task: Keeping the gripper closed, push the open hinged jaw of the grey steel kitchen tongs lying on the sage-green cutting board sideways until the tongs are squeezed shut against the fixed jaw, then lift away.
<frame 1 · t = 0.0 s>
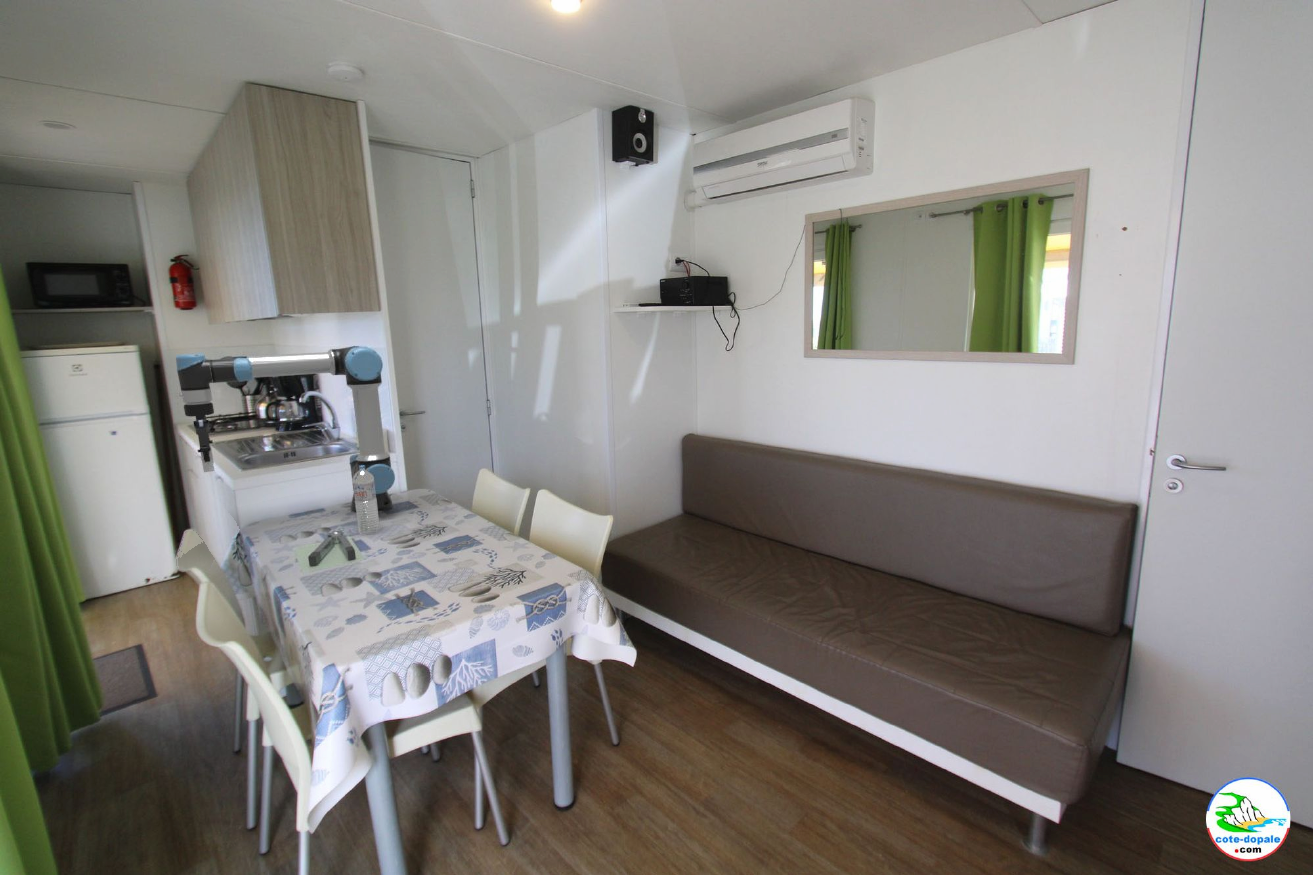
hand: (209, 467, 199), 28 cm above the table, fingers open, 13 cm apart
water bottle: (370, 535, 214), on the table
board: (328, 556, 195), on the table
tongs fixed: (337, 542, 204), resting on board
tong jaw: (322, 550, 193), point 3 cm above the table, hinge at 25.0°
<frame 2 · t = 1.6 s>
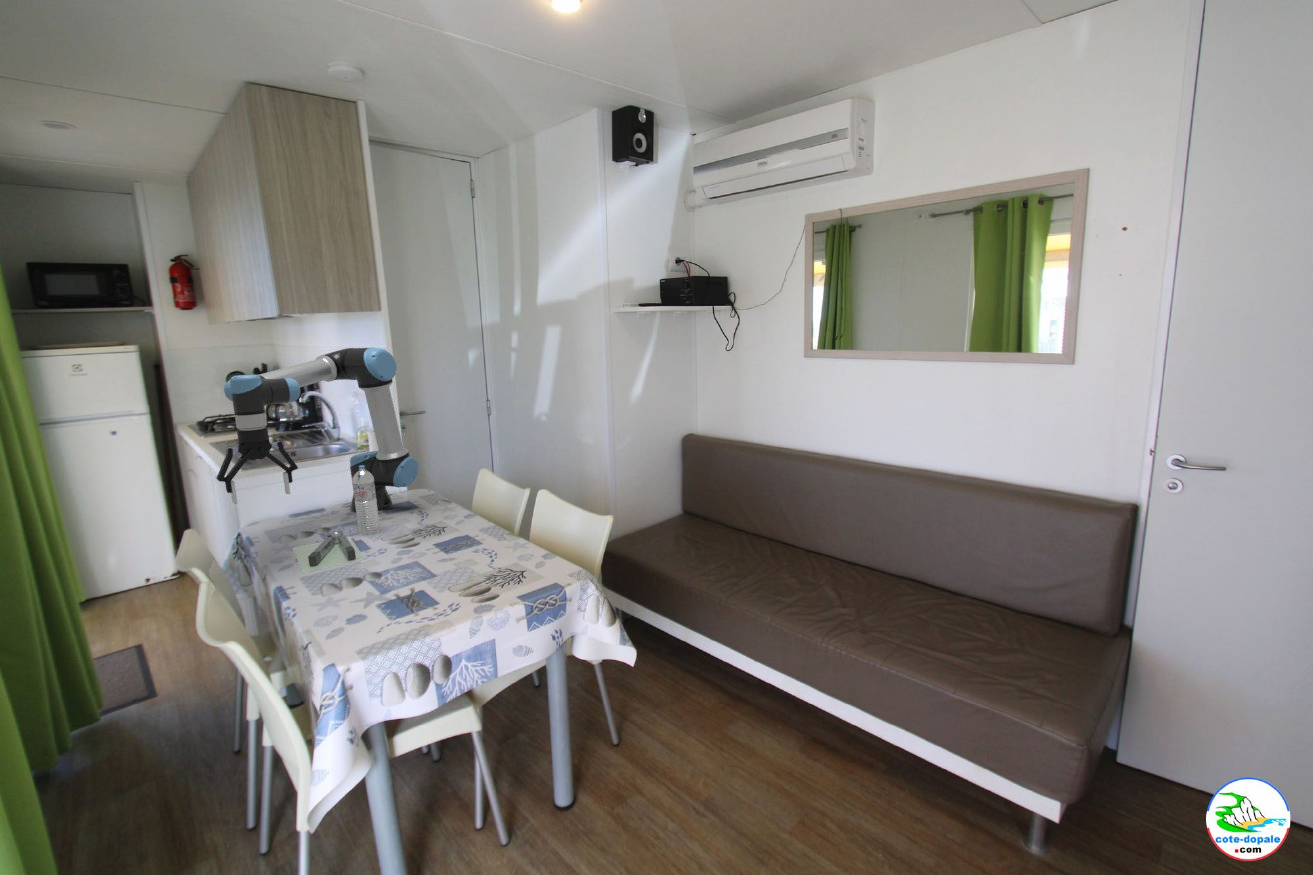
hand: (262, 498, 182), 22 cm above the table, fingers open, 13 cm apart
nothing on the table moved.
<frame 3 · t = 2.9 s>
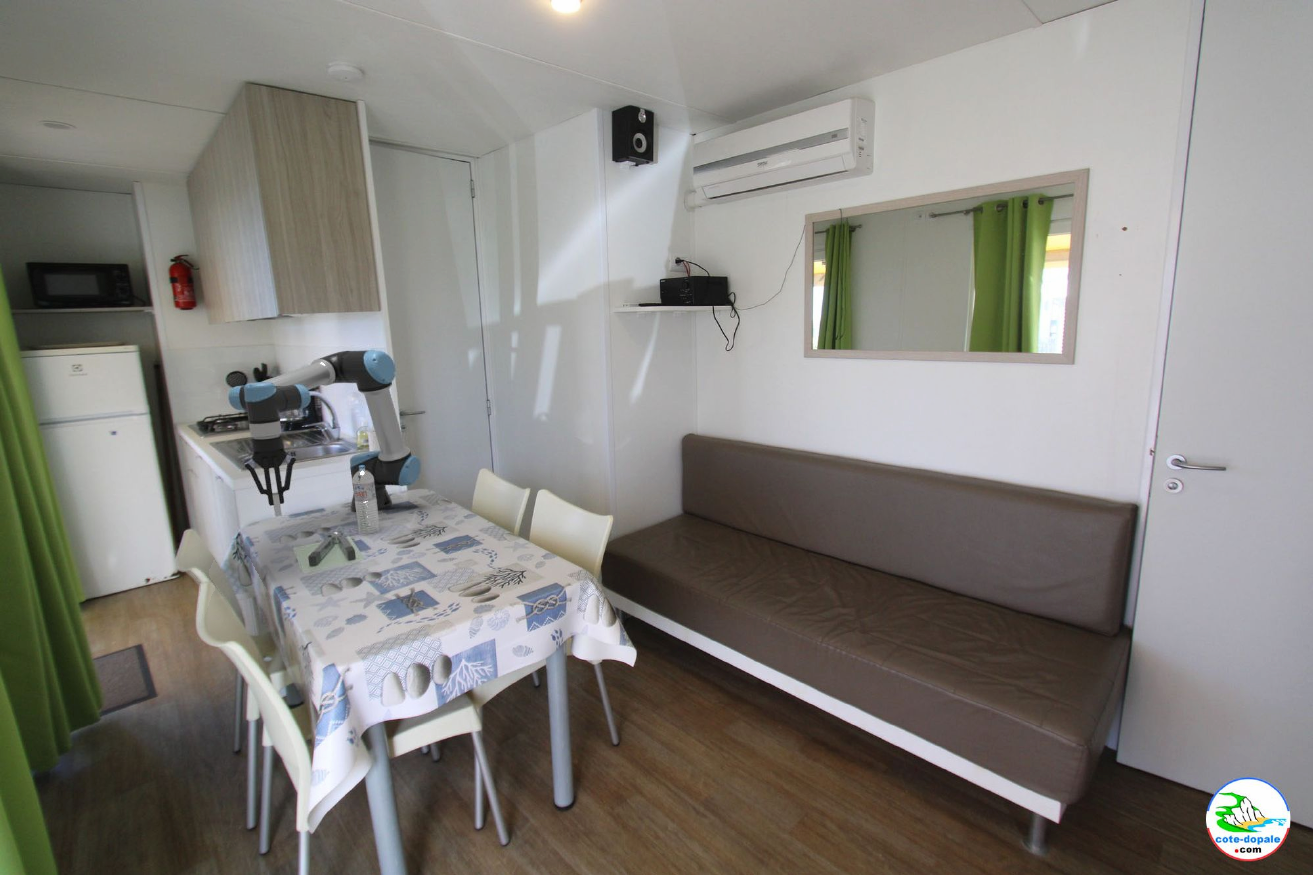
hand: (278, 514, 180), 18 cm above the table, fingers closed
nothing on the table moved.
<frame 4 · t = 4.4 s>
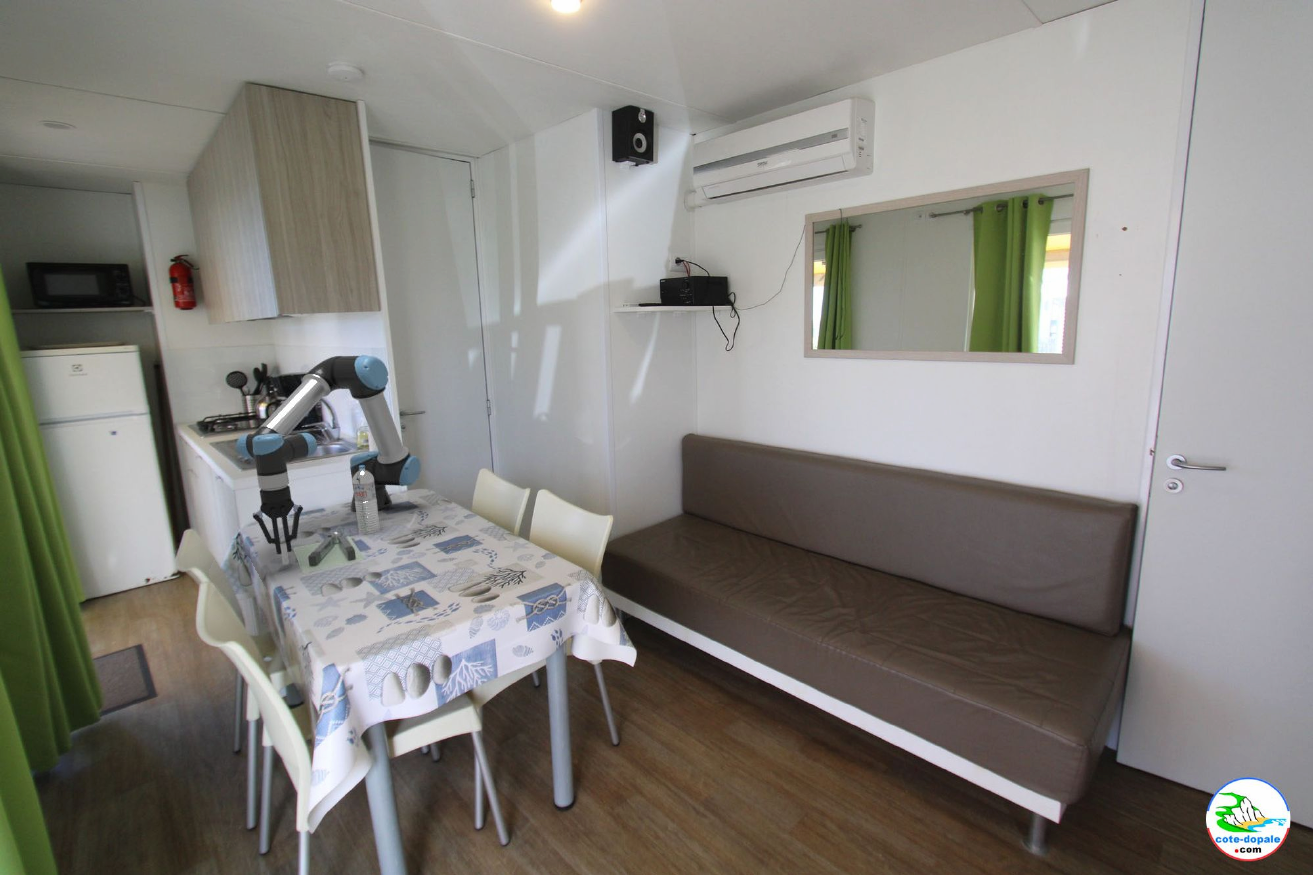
hand: (285, 562, 183), 3 cm above the table, fingers closed
nothing on the table moved.
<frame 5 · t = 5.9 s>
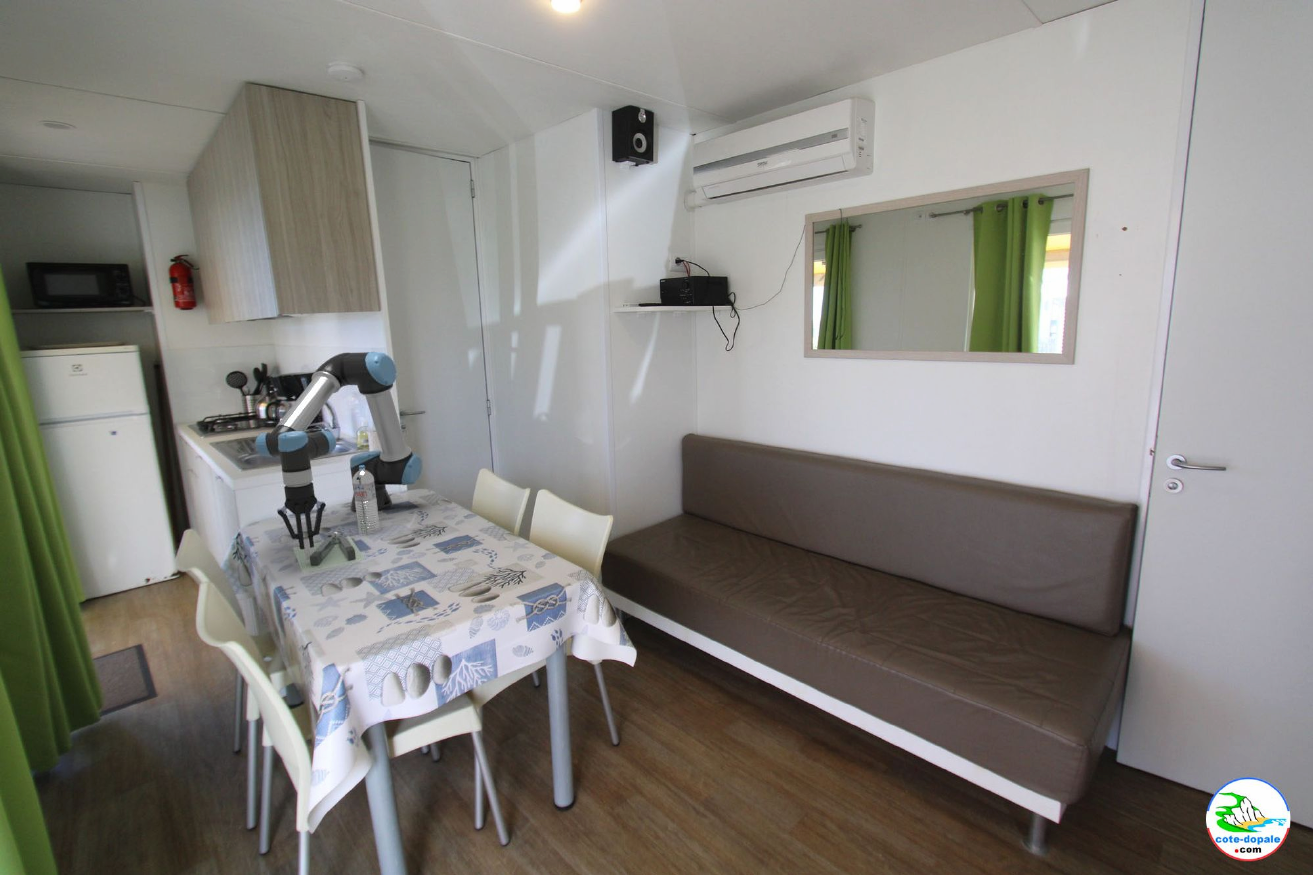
hand: (308, 558, 186), 3 cm above the table, fingers closed
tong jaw: (322, 550, 193), point 3 cm above the table, hinge at 23.7°, touching gripper
everything else where it was.
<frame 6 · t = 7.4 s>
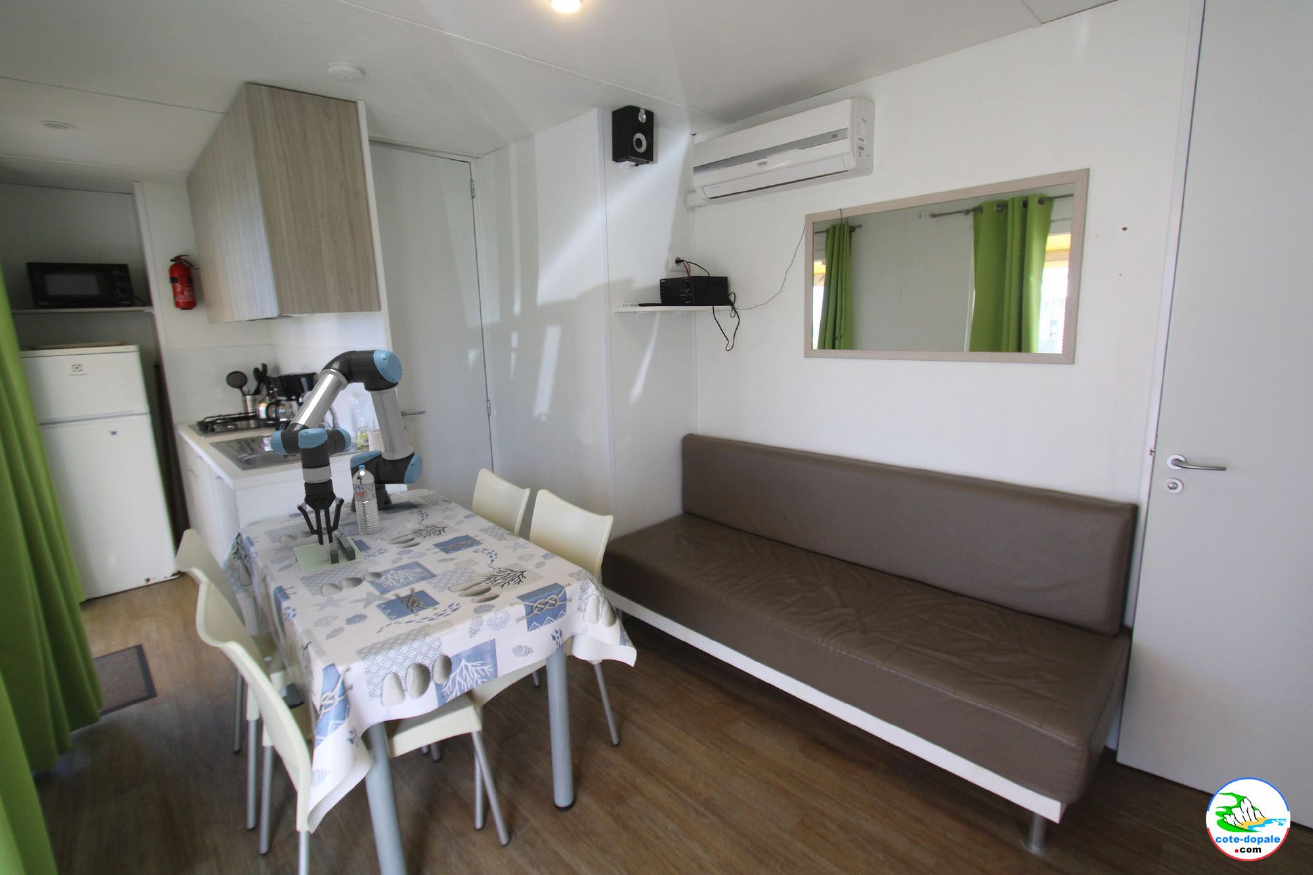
hand: (327, 553, 189), 3 cm above the table, fingers closed
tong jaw: (333, 549, 193), point 3 cm above the table, hinge at 7.3°, touching gripper
everything else where it was.
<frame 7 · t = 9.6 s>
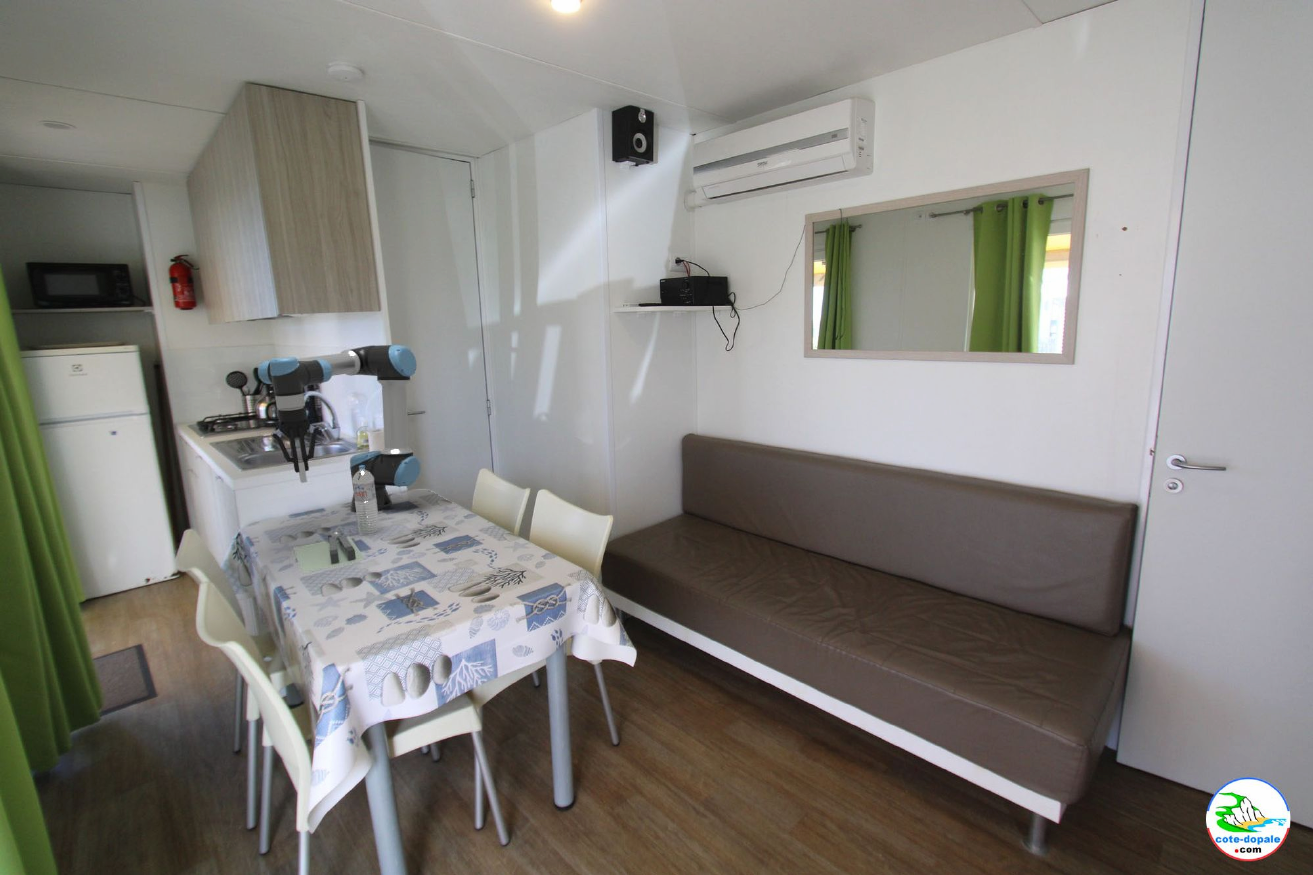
hand: (303, 481, 193), 24 cm above the table, fingers closed
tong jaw: (333, 549, 194), point 3 cm above the table, hinge at 7.2°
everything else where it was.
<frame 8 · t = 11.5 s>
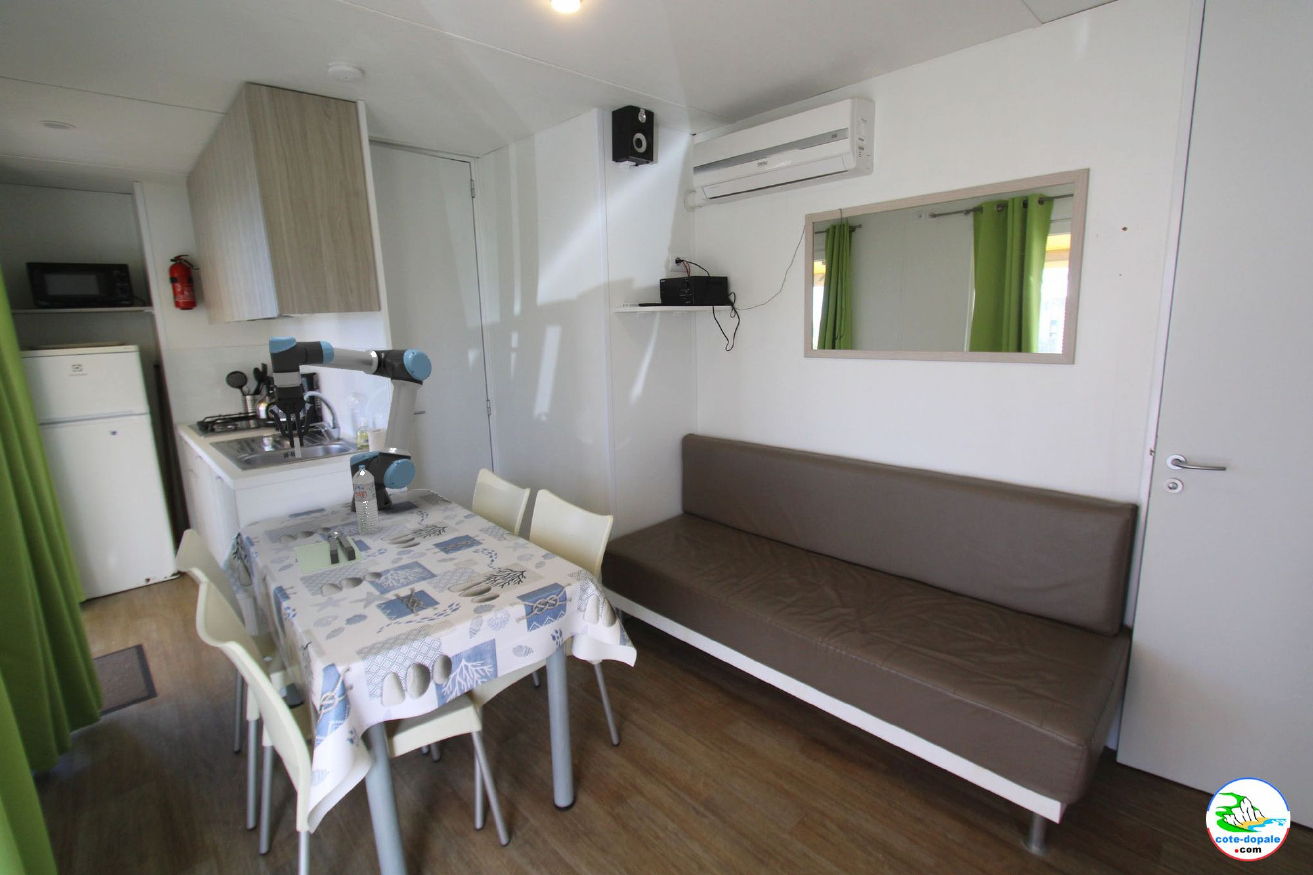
hand: (298, 456, 200), 30 cm above the table, fingers closed
nothing on the table moved.
at the end: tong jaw at +7° (first picture: +25°) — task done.
